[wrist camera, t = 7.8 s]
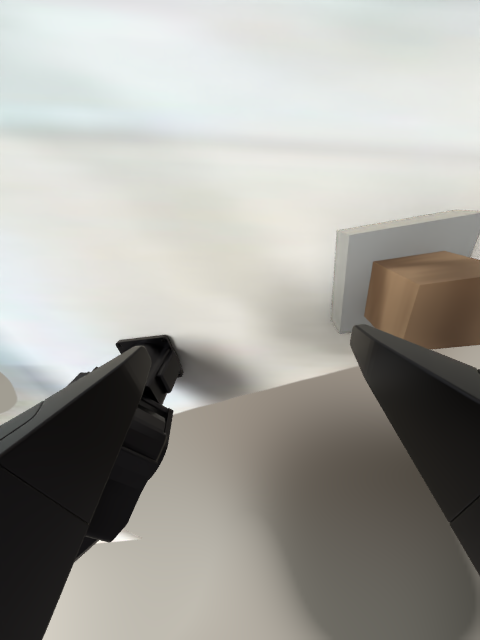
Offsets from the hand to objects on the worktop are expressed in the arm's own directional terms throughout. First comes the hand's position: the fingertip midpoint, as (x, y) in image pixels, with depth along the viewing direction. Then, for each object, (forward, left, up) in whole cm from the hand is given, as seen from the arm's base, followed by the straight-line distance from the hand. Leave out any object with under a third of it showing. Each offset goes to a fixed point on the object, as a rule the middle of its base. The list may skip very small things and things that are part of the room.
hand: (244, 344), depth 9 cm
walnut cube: (+12, -3, -9) cm, 16 cm away
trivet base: (+12, -3, -12) cm, 18 cm away
